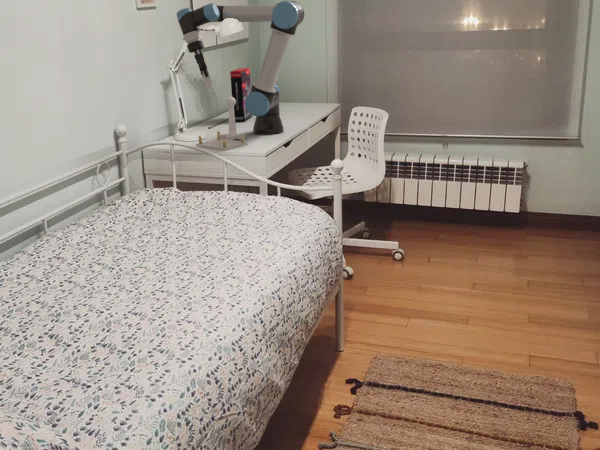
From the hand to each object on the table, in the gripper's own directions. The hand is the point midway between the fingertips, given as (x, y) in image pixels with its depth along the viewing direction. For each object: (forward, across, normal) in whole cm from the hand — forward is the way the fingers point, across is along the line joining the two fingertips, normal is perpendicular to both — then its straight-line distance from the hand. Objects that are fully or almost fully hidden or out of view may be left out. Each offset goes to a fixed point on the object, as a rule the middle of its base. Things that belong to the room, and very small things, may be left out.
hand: (209, 85), depth 328 cm
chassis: (+29, +16, -4) cm, 33 cm away
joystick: (+28, +3, +2) cm, 28 cm away
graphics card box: (+18, -52, +14) cm, 56 cm away
